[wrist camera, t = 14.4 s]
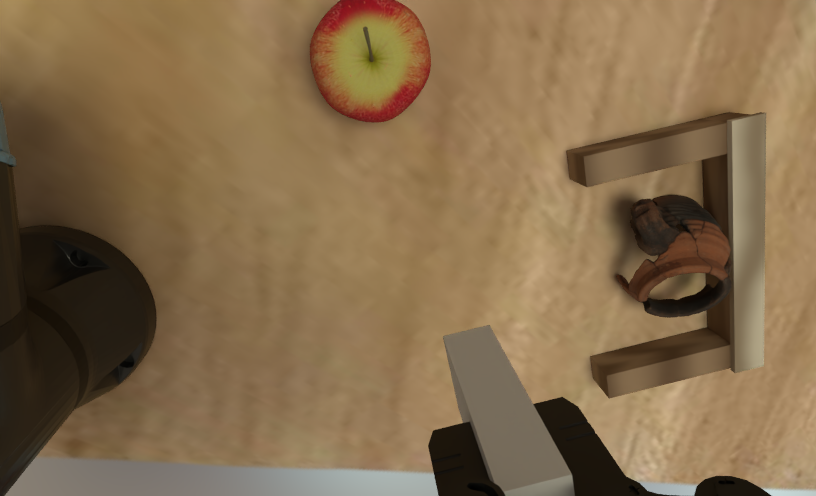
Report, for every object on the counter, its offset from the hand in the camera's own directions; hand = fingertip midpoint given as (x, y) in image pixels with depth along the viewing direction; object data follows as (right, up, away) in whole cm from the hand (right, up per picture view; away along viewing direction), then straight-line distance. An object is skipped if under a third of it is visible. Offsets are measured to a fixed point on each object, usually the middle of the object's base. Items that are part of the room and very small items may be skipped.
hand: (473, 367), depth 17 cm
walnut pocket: (+21, +3, +32) cm, 39 cm away
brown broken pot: (+20, +5, +32) cm, 38 cm away
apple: (-5, +18, +25) cm, 31 cm away
